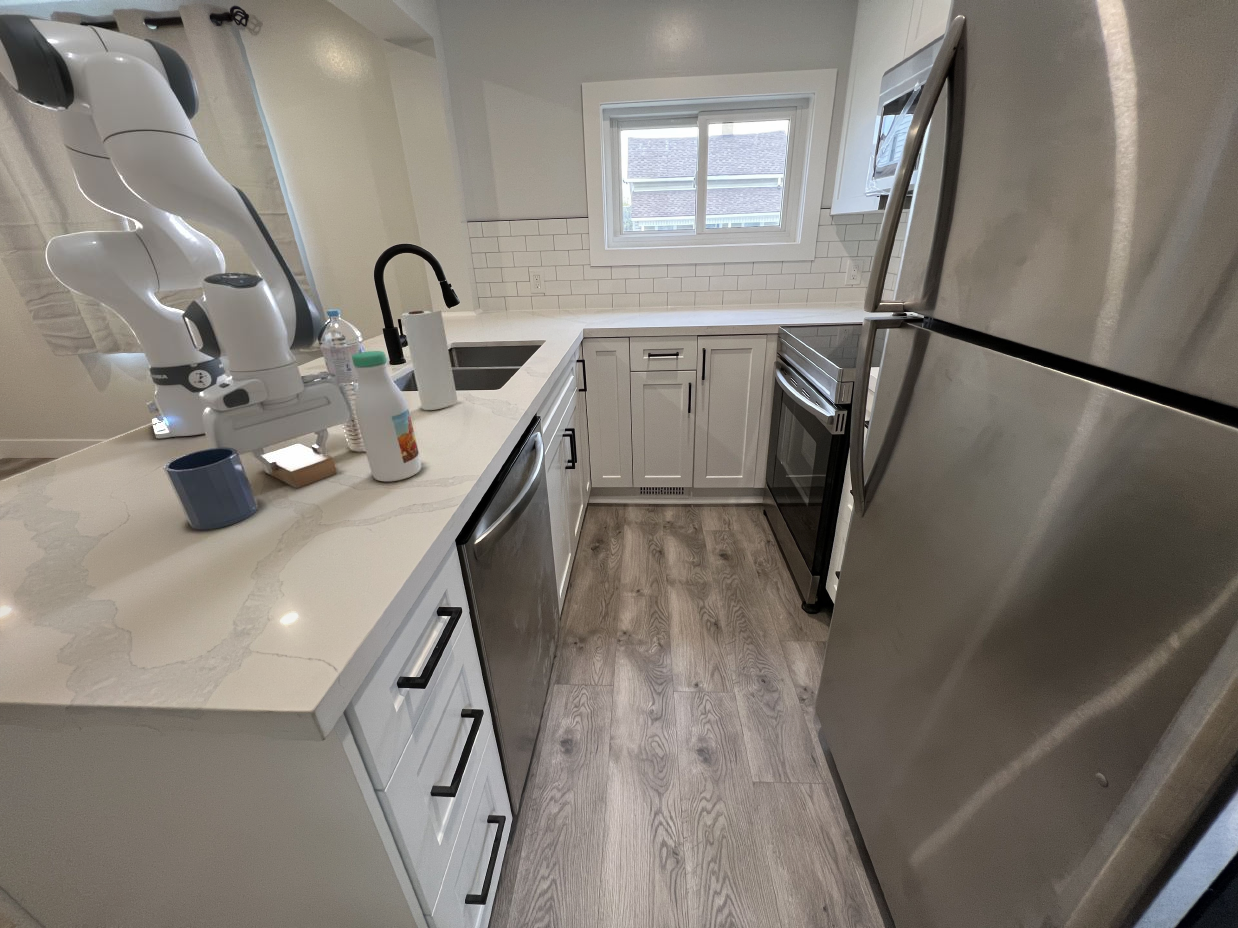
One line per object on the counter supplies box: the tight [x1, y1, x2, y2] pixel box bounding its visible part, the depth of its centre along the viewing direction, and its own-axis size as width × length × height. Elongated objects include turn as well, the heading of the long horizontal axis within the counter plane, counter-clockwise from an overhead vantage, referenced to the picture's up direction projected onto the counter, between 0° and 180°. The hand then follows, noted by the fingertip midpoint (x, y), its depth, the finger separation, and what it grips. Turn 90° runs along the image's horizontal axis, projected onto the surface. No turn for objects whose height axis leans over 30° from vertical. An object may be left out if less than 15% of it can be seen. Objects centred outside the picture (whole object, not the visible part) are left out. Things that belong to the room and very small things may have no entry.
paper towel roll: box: [401, 310, 459, 411], centre depth 111 cm, size 7×6×21 cm
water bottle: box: [317, 309, 366, 453], centre depth 90 cm, size 7×7×25 cm
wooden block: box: [261, 443, 338, 489], centre depth 84 cm, size 12×6×3 cm, turn 54°
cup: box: [163, 447, 259, 531], centre depth 70 cm, size 8×8×9 cm
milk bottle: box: [352, 350, 422, 482], centre depth 79 cm, size 8×8×20 cm
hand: (297, 463), depth 84 cm, fingers closed on wooden block, 6 cm apart
